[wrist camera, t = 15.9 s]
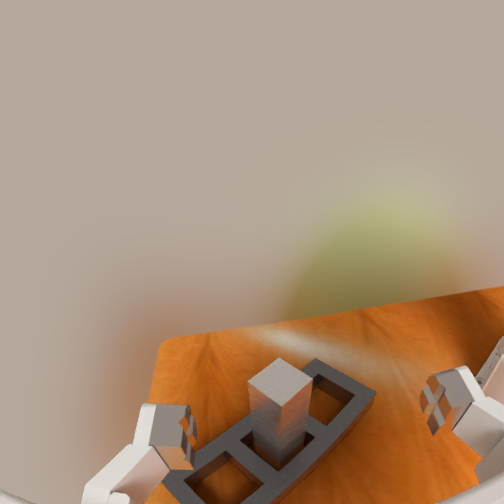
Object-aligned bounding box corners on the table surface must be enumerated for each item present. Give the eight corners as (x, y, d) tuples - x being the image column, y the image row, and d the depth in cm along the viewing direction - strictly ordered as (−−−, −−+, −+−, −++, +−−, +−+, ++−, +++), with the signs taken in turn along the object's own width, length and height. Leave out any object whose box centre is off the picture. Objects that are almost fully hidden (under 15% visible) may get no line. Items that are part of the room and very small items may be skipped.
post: (278, 431, 35) (279, 357, 29) (302, 449, 33) (313, 378, 26) (254, 451, 33) (247, 381, 26) (279, 470, 30) (281, 406, 24)
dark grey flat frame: (314, 372, 44) (315, 358, 42) (371, 405, 37) (376, 392, 36) (164, 486, 28) (157, 476, 27) (222, 545, 22) (218, 541, 20)
